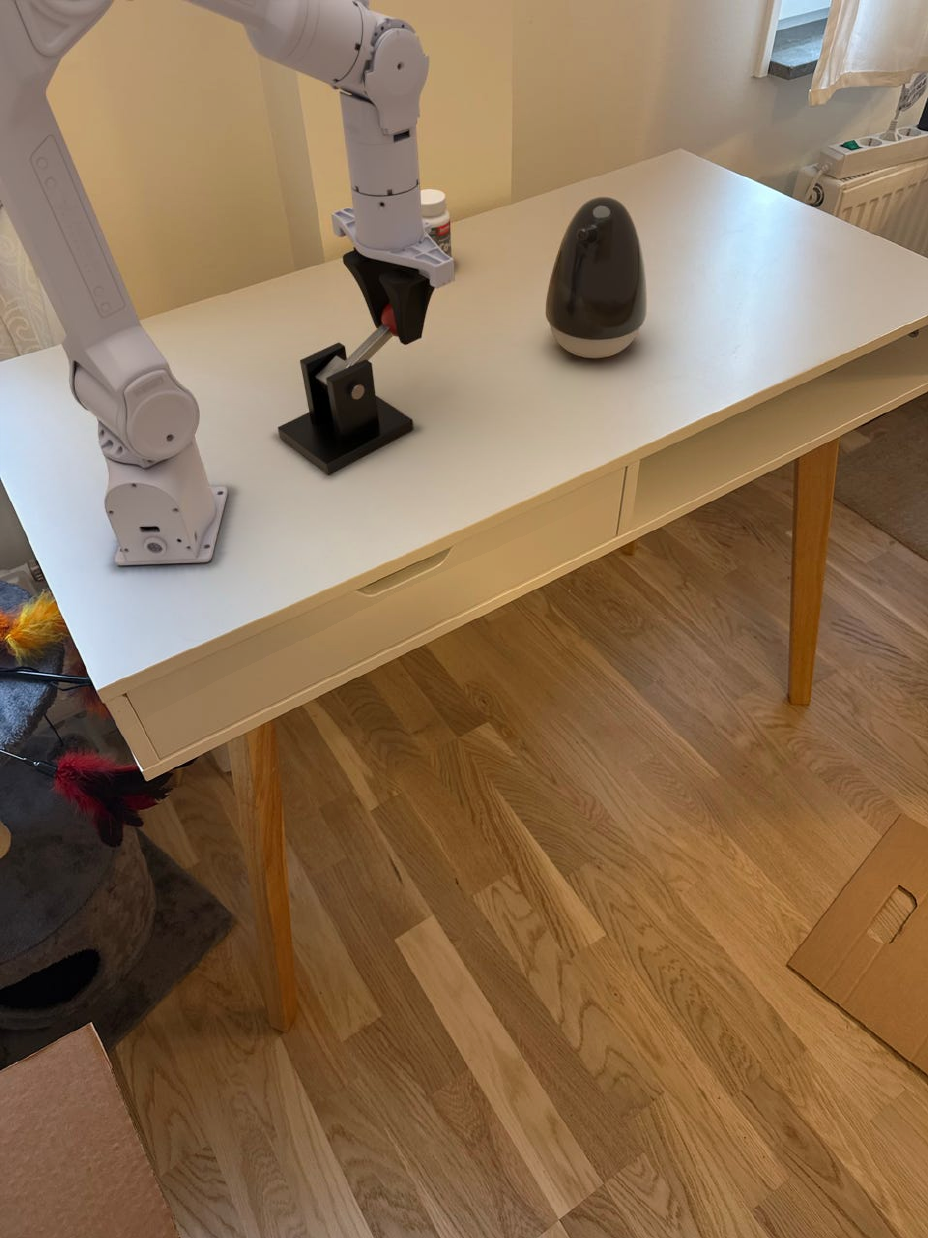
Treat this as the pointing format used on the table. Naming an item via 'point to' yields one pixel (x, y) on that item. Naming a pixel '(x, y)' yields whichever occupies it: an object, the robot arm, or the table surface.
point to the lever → (362, 347)
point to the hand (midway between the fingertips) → (398, 332)
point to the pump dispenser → (598, 282)
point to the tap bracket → (342, 414)
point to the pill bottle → (437, 218)
